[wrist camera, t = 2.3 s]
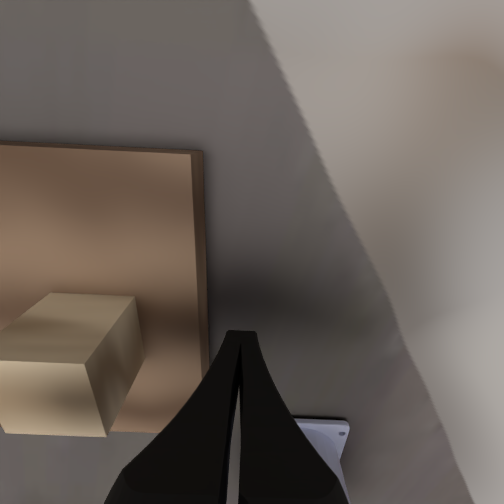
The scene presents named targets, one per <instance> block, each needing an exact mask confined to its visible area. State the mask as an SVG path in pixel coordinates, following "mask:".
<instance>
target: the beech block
mask: <svg viewBox="0 0 504 504" xmlns="http://www.w3.org/2000/svg"><path fill="white" fill-rule="evenodd" d="M144 360H145V354H144V348H143V342H142V336H141V330H140V324H139V319H138V313H137V307H136V301H135V296H114V295H92V294H69V293H49V294H48V295H47V296H46V297H44V298H43V299H42V300H40V301H39V302H38V303H36V304H35V305H34V306H33V307H31V308H30V309H29V310H27V311H26V312H25V313H23V314H22V315H21V316H20V317H18V318H17V319H16V320H14V321H13V322H12V323H10V324H9V325H8V326H7V327H5V328H4V329H3V330H1V331H0V424H1V425H2V427H3V429H4V431H5V433H15V434H40V435H66V436H91V437H107V435H108V433H109V431H110V429H111V427H112V425H113V423H114V421H115V419H116V417H117V415H118V413H119V411H120V409H121V407H122V405H123V403H124V400H125V398H126V396H127V394H128V392H129V390H130V388H131V386H132V384H133V382H134V380H135V378H136V376H137V374H138V372H139V370H140V368H141V366H142V364H143V362H144Z"/></svg>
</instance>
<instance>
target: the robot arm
mask: <svg viewBox="0 0 504 504" xmlns="http://www.w3.org/2000/svg"><path fill="white" fill-rule="evenodd" d="M238 390H239V391H240V424H241V454H240V476H239V499H238V504H351V503H350V499H349V495H348V492H347V488H346V484H345V480H344V476H343V472H342V468H341V465H340V458H341V455H342V452H343V448H344V445H345V442H346V439H347V436H348V433H349V430H350V427H349V424H348V422H346V421H343V420H320V419H295V418H293V417H292V415H291V413H290V412H289V410H288V408H287V407H286V405H285V403H284V401H283V400H282V398H281V396H280V394H279V392H278V390H277V388H276V386H275V384H274V382H273V380H272V378H271V376H270V373H269V371H268V369H267V366H266V364H265V361H264V359H263V356H262V353H261V350H260V347H259V343H258V338H257V333H256V332H255V331H238V330H228V331H227V332H226V335H225V338H224V341H223V343H222V345H221V347H220V350H219V352H218V354H217V355H216V357H215V359H214V361H213V363H212V365H211V366H210V368H209V370H208V371H207V373H206V374H205V376H204V378H203V379H202V381H201V382H200V384H199V385H198V387H197V388H196V390H195V391H194V392H193V394H192V395H191V396H190V398H189V399H188V400H187V402H186V403H185V404H184V406H183V407H182V408H181V409H180V410H179V412H178V413H177V414H176V415H175V417H174V418H173V419H172V420H171V421H170V422H169V423H168V424H167V426H166V427H165V428H164V429H163V430H162V431H161V432H160V433H159V434H158V435H157V436H156V437H155V438H154V439H153V441H152V442H151V443H150V444H149V445H148V446H147V447H146V448H144V449H143V450H142V451H141V452H140V453H139V454H138V455H137V456H136V457H135V458H134V459H133V460H132V461H131V462H130V463H129V464H128V465H126V466H125V467H124V468H123V469H122V471H121V473H120V474H119V476H118V478H117V479H116V481H115V483H114V485H113V487H112V489H111V490H110V492H109V494H108V496H107V498H106V500H105V502H104V504H226V501H227V487H228V472H229V459H230V445H231V437H232V430H233V423H234V416H235V410H236V403H237V396H238Z"/></svg>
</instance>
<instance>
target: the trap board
mask: <svg viewBox="0 0 504 504" xmlns="http://www.w3.org/2000/svg"><path fill="white" fill-rule="evenodd" d="M49 293H69V294H92V295H114V296H135V301H136V307H137V313H138V319H139V324H140V330H141V336H142V342H143V348H144V354H145V360H144V362H143V364H142V366H141V368H140V370H139V372H138V374H137V376H136V378H135V380H134V382H133V384H132V386H131V388H130V390H129V392H128V394H127V396H126V398H125V400H124V403H123V405H122V407H121V409H120V411H119V413H118V415H117V417H116V419H115V421H114V423H113V425H112V427H111V429H110V431H123V432H149V433H160V432H161V431H162V430H163V429H164V428H165V427H166V426H167V424H168V423H169V422H170V421H171V420H172V419H173V418H174V417H175V415H176V414H177V413H178V412H179V410H180V409H181V408H182V407H183V406H184V404H185V403H186V402H187V400H188V399H189V398H190V396H191V395H192V394H193V392H194V391H195V390H196V388H197V387H198V385H199V384H200V382H201V381H202V379H203V378H204V376H205V374H206V373H207V371H208V370H209V336H208V304H207V272H206V239H205V207H204V175H203V151H197V150H177V149H157V148H137V147H116V146H96V145H76V144H56V143H35V142H15V141H0V331H1V330H3V329H4V328H5V327H7V326H8V325H9V324H10V323H12V322H13V321H14V320H16V319H17V318H18V317H20V316H21V315H22V314H23V313H25V312H26V311H27V310H29V309H30V308H31V307H33V306H34V305H35V304H36V303H38V302H39V301H40V300H42V299H43V298H44V297H46V296H47V295H48V294H49ZM0 427H2V425H1V424H0Z"/></svg>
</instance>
